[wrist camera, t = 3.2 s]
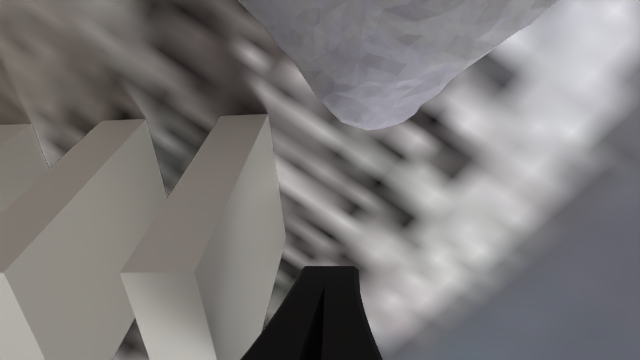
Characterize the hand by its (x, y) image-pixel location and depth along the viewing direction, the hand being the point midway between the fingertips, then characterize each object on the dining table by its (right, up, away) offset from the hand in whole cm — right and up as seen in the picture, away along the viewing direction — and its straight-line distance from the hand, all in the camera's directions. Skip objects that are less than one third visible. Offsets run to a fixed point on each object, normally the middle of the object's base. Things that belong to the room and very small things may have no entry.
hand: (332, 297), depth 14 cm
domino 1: (-3, +3, +6) cm, 7 cm away
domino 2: (-7, +3, +6) cm, 9 cm away
